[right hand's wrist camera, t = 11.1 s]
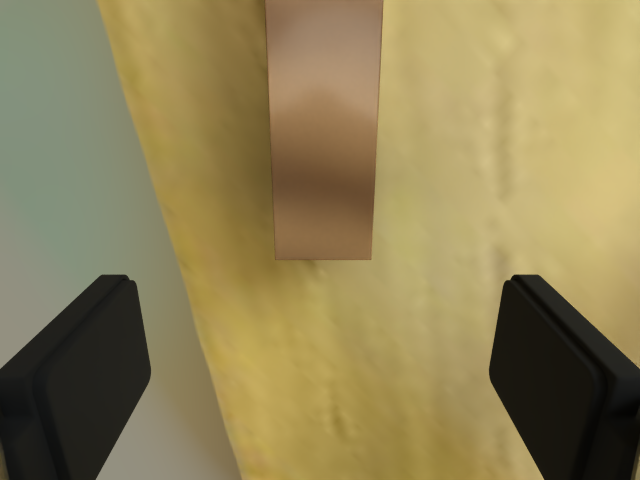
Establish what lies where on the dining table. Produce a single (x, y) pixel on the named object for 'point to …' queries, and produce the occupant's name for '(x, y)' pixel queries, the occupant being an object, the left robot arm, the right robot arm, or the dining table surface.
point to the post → (323, 125)
